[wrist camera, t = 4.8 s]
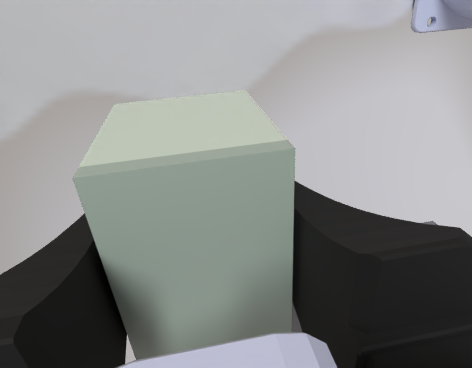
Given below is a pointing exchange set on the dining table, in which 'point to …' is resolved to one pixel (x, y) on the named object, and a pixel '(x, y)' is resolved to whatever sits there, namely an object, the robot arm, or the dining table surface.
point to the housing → (193, 219)
